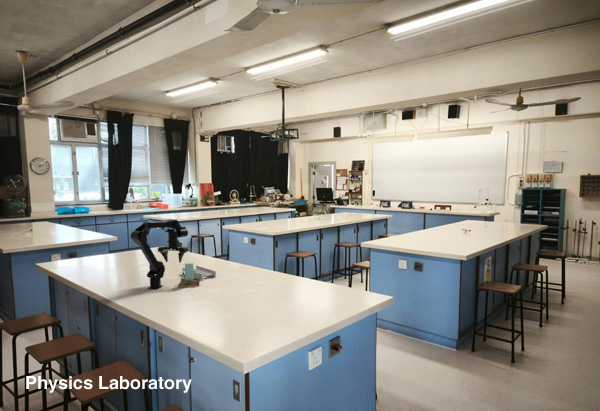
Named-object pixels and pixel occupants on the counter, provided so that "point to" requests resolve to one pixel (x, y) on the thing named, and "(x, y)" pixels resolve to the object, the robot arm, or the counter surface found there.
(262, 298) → the counter surface
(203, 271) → the test tube rack
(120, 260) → the counter surface
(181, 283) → the track board
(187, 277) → the mint green tall box
